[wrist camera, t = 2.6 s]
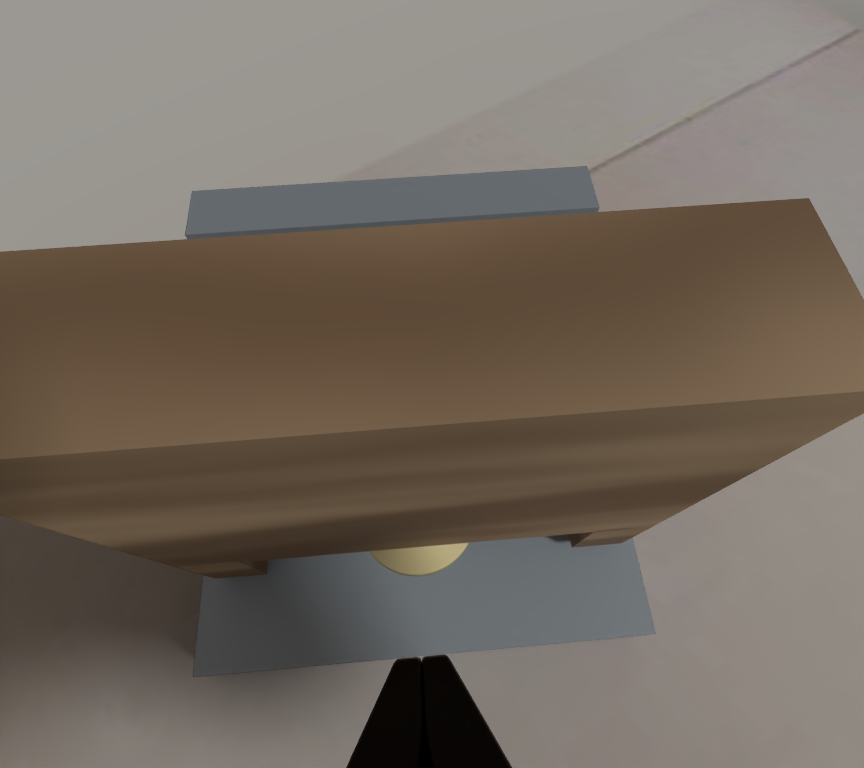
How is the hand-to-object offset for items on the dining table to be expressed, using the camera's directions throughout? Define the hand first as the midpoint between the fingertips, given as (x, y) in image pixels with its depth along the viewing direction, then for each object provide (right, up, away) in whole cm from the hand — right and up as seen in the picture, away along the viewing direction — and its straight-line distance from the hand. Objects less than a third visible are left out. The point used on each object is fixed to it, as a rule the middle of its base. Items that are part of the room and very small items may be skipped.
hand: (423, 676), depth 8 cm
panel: (0, +1, +8) cm, 8 cm away
